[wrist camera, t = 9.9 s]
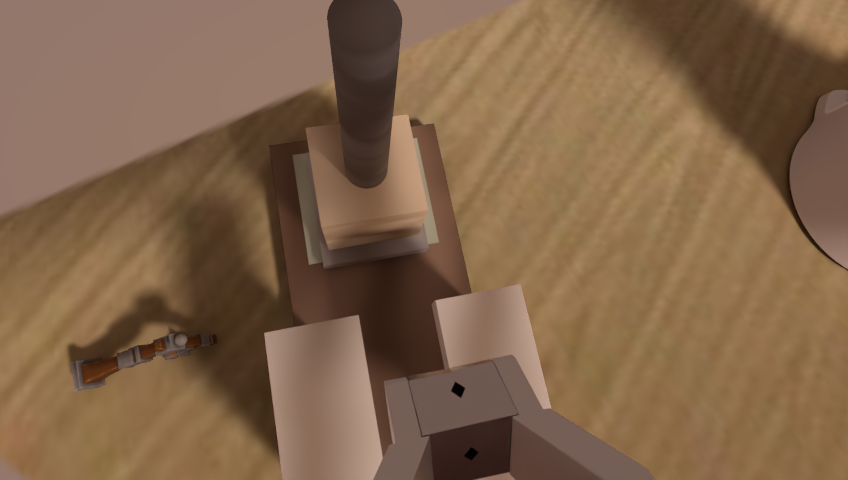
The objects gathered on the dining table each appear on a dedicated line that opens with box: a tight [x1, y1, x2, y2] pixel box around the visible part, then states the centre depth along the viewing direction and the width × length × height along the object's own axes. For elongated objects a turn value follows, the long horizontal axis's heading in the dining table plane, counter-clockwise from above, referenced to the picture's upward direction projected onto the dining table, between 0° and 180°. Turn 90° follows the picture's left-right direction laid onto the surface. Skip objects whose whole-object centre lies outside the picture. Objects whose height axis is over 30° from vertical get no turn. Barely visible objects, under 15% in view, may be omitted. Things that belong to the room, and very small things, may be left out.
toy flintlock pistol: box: [71, 333, 217, 391], centre depth 31 cm, size 2×8×4 cm, turn 107°
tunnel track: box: [264, 124, 551, 480], centre depth 28 cm, size 12×31×12 cm, turn 11°
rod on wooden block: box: [305, 0, 429, 269], centre depth 25 cm, size 7×8×19 cm
